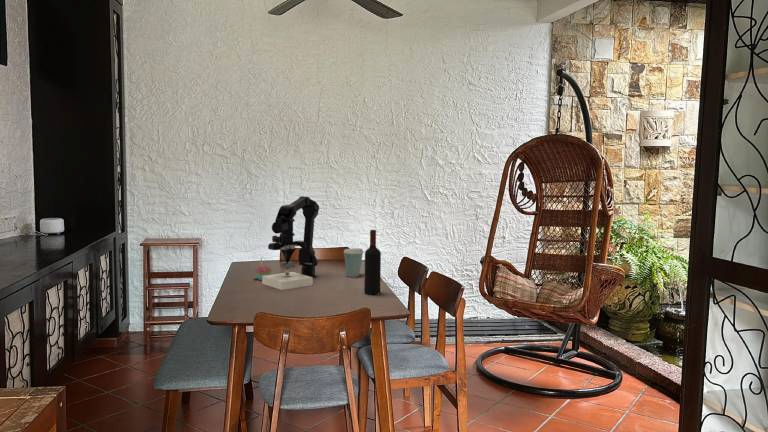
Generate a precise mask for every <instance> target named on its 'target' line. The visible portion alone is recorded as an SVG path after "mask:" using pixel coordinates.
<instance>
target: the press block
mask: <svg viewBox="0 0 768 432" xmlns="http://www.w3.org/2000/svg"><path fill="white" fill-rule="evenodd" d="M313 279H314V278H313V277H309V276H306V275H302V274H301V273H298V272H295V271H289V275H285V272H283V273H275V274H269V275H266V276H262V280H261V281H262V283H261V284H262V285H265V286H268V287H269V288H270V287H271V288H274V289H276V290H280V291H285V290H290V289H297V288H298V289H299V288H304V287H310V286H311V287H312V286H313Z"/></svg>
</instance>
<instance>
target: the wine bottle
mask: <svg viewBox="0 0 768 432" xmlns="http://www.w3.org/2000/svg"><path fill="white" fill-rule="evenodd" d="M369 236H370V237H369V247H368V248H367V249H366V250H365V251H364V285H363V287H364V289H363V290H364V291H363V292H364V293H365V294H364V293H363V294H364V295H366V294H378V293H380V294H381V272H382V271H381V269H382V268H381V267H382V266H381V265H382V264H381V263H382V262H381V261H382V260H381V259H382V258H381V257H382V253H381V251H380V250H379V248H378V247H377V230H376V229H370V230H369Z"/></svg>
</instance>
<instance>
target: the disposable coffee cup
mask: <svg viewBox="0 0 768 432" xmlns="http://www.w3.org/2000/svg"><path fill="white" fill-rule="evenodd" d="M363 254H364V250H363V248H362V247H360V248H358V247H357V248H355V247H354V248H346V249H344V250H343V258H344V264H345V273H346V276H347V277H348V276H349V277H348V278H358V277H359V276H360V272H361V267H362V262H363V261H362V259H363ZM357 276H358V277H357Z"/></svg>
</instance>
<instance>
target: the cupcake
mask: <svg viewBox="0 0 768 432" xmlns="http://www.w3.org/2000/svg"><path fill="white" fill-rule="evenodd" d="M254 273H255V274H256V277H257V279H258V280H259V281H262V276H266V275H271V273H272V269H271V267H269V266H267V265H263V258H262V257H260V265H259V266H257V267H255V269H254Z"/></svg>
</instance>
